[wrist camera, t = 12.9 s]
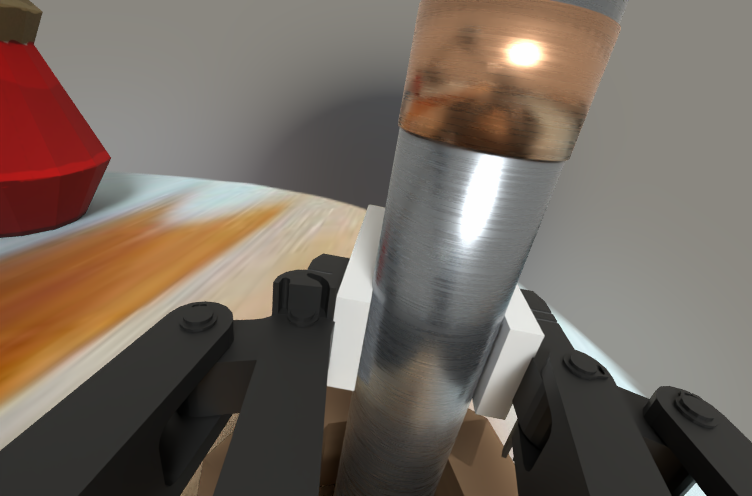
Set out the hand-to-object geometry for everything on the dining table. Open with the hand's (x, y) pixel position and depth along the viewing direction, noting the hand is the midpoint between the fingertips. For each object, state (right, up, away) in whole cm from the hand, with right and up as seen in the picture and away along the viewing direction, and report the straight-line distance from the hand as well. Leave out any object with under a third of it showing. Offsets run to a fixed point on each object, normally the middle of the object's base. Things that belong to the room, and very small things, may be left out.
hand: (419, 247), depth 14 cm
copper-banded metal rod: (-2, -11, -1) cm, 11 cm away
